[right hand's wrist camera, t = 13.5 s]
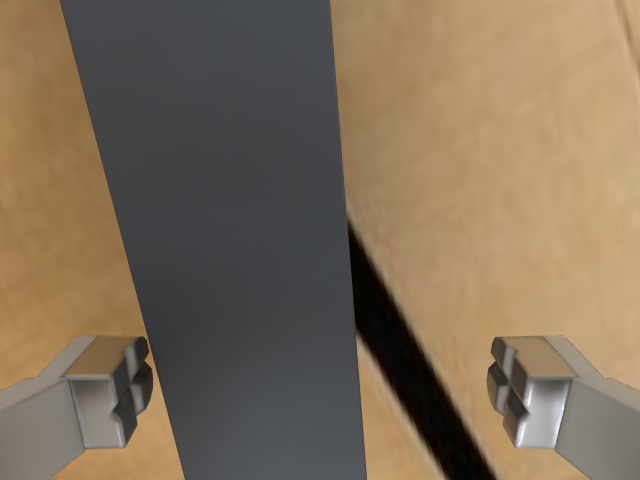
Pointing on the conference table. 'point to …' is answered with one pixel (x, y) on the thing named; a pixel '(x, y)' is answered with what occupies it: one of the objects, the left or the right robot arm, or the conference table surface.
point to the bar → (232, 224)
